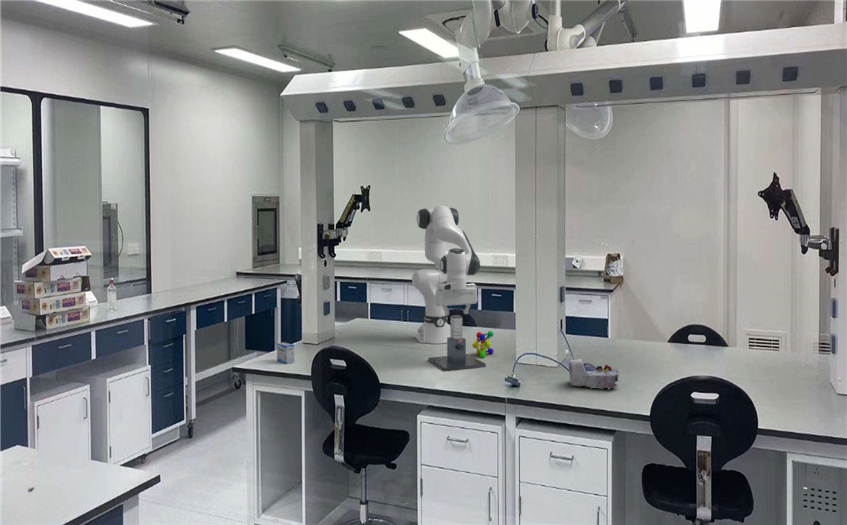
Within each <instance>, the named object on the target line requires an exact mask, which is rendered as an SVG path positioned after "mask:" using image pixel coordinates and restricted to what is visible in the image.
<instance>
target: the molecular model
mask: <svg viewBox="0 0 847 525" xmlns="http://www.w3.org/2000/svg"><path fill="white" fill-rule="evenodd" d="M492 337H494V332H493V331H492V330H489V331H488V332H487V333H482V332H481V331H478V332H476V339H475V341H474V342H472V348H474V349H476V354H477V356H479V357H480V358H481V359H484V358H485V357H486V353H488V355H493V354H494V353H495V352H494V349H493V348H492V347H491V346H492V343H491V342H490V341H491V338H492Z"/></svg>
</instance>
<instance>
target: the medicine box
mask: <svg viewBox="0 0 847 525" xmlns="http://www.w3.org/2000/svg"><path fill="white" fill-rule="evenodd" d="M276 358H277V359H276V360H277V362H278V363H281V364H285V365H290V364H293V363H295V344H292V343H288V342H286V341H285V342H283V341H282V342H279V343H276Z"/></svg>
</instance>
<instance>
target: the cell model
mask: <svg viewBox="0 0 847 525" xmlns="http://www.w3.org/2000/svg"><path fill="white" fill-rule="evenodd" d="M568 364H569V365H568V370H569V371H568V372H569V374H568V375H569V380H570V385H571V386H573V387H581V386H587V387H595V388H612V389H613V387H617V386H619V385H618V384H616V382H619V373H620V371H619V370H618V369H617V368H612V366H610V365H608V364H605V365H604V367H603V366H602V365H597V366H595V365H593V364H592V363H591V362H584V360H583V359H582V358H576V359H571V360H570V361H569V363H568ZM587 387H586V388H587Z"/></svg>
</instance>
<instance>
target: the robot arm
mask: <svg viewBox="0 0 847 525" xmlns="http://www.w3.org/2000/svg"><path fill="white" fill-rule="evenodd" d="M415 220H416V224H417V227H418V228H419V229H422V230H425V232H424V257H425V258H426V260H429V261H430V262H431V263H433V264H434V266H435V267H434V268H421V269H419V270H416V271H414V272H413V274H412V277H411V283H412V285H413V287H414V288H415V289H416V290H417V291H419V292H420V293H421V295H422V297H423V299H424V305H425V306H424V307H425V308H424V309H425V315H424V318H423V321H424V322H423V323H422V324H421V325H420V326H419V328H417V333H418V334H416V335H415V336H414V338H415V337H416V338H415V339H416V340H417V342H418V343H421V344H432V345H433V344H439V345H440V344H447V337H451V326H450V324H449V323H448V316H450V311H449V310H447V309H448V306H463V305H465V306H466V307H465V309H463V312H462V313H463V315H468V313H469V310H470V308H471V305H474V304H478V300H479V298H478V286H477V284H475V283H467V276H475V275H476V274H478V273H479V271H480V269H481V261H480V259H479V256H478V255H477V253H476V252H475V251H474V249H473V246H472V244H471V242H470V240H469V238H468V236H467V234H466V232H465V231H464V230H462V229H461V228H460V227H458V225H459V222H460V214H459V211H458V210H457V208H453V207H448V206H446V205H443V204H442V205H441V204H440V205H437V206H435V207H429V208H421V209H419V210H418V211H417V214H416V218H415ZM447 243H449V244H452V245H453V244H454V245H456V246H458V247H459V248H457V247H456V248H450V249H449V250H448V252H447V246H446V245H447Z"/></svg>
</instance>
